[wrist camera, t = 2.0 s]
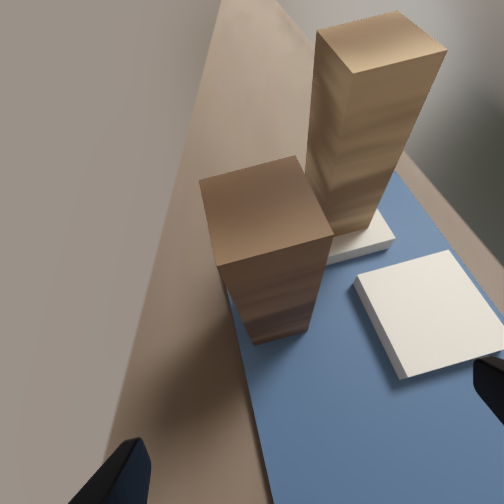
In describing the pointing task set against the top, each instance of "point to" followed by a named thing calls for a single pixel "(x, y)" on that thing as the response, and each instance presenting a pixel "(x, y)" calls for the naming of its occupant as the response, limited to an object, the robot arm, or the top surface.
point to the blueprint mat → (382, 374)
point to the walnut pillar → (268, 245)
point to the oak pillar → (364, 111)
